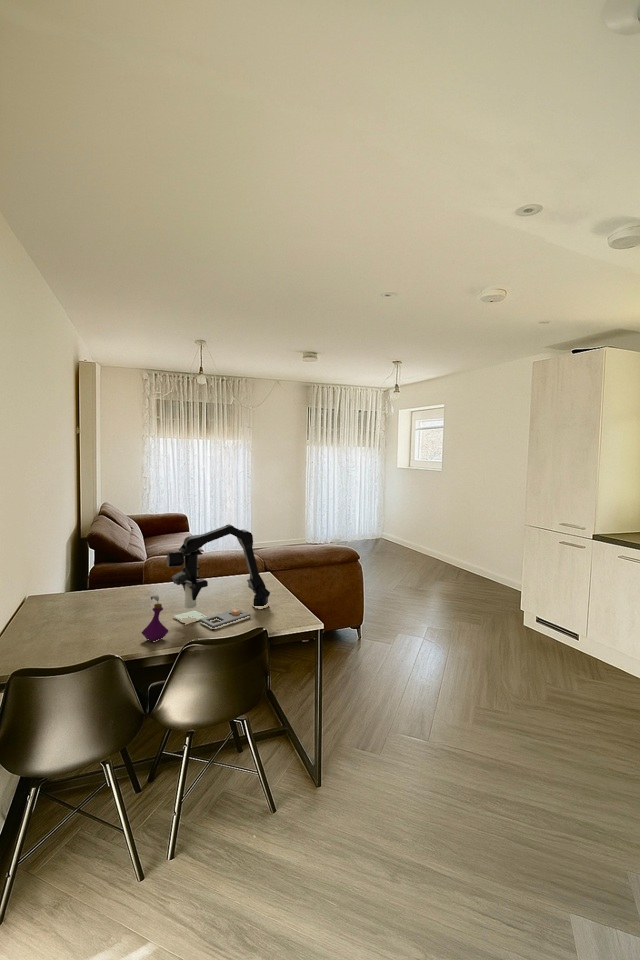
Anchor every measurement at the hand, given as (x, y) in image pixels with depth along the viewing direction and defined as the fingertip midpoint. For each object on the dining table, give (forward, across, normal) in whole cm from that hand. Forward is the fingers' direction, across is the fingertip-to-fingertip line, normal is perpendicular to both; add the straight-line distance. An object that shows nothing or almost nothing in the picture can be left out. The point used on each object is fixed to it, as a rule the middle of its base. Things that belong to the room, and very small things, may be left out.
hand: (190, 598), depth 203 cm
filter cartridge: (+4, 0, 0) cm, 4 cm away
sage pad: (+9, 0, 0) cm, 9 cm away
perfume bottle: (+9, +10, -22) cm, 26 cm away
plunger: (+9, +13, +15) cm, 22 cm away
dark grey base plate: (+9, +13, +10) cm, 19 cm away
